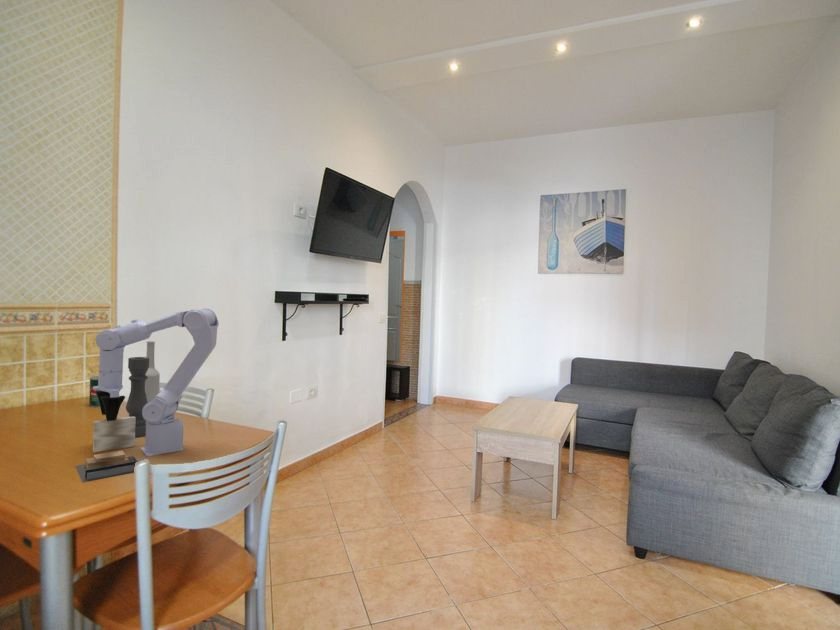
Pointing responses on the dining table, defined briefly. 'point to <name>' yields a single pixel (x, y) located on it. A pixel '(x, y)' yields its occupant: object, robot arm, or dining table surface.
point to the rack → (106, 470)
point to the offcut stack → (106, 459)
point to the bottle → (151, 374)
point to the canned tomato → (93, 392)
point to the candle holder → (138, 392)
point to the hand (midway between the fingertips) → (108, 417)
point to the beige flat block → (114, 434)
